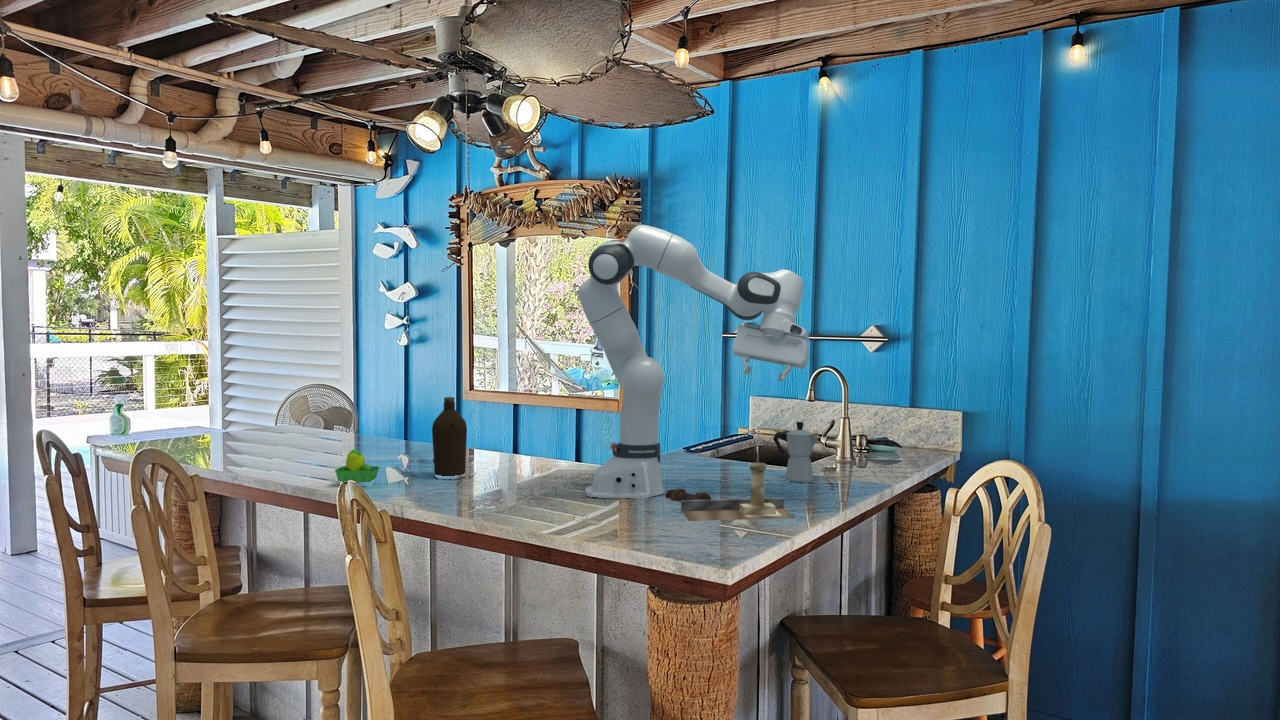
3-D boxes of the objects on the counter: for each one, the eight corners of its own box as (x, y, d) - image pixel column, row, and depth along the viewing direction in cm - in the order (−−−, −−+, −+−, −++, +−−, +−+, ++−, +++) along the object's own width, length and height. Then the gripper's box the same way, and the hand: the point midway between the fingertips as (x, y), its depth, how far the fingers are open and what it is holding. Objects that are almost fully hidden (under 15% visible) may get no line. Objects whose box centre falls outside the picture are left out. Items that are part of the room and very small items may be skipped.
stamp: (743, 515, 202) (744, 465, 201) (739, 511, 206) (739, 462, 205) (775, 514, 203) (776, 464, 202) (770, 510, 207) (771, 462, 206)
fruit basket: (380, 482, 251) (380, 445, 251) (372, 488, 243) (371, 450, 242) (342, 482, 251) (341, 445, 250) (332, 488, 242) (332, 450, 242)
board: (688, 527, 197) (688, 510, 196) (680, 515, 209) (680, 499, 208) (795, 523, 200) (795, 507, 200) (781, 512, 212) (781, 496, 211)
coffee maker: (824, 480, 255) (824, 421, 254) (814, 484, 248) (815, 424, 247) (778, 475, 263) (778, 418, 262) (767, 479, 255) (768, 421, 255)
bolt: (671, 508, 225) (706, 517, 212) (658, 501, 222) (693, 510, 210) (680, 488, 226) (715, 496, 214) (666, 481, 224) (701, 488, 211)
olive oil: (474, 476, 260) (473, 397, 259) (447, 481, 252) (446, 399, 251) (452, 472, 267) (451, 395, 266) (425, 477, 259) (424, 397, 258)
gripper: (737, 317, 224) (723, 365, 221) (812, 331, 216) (799, 380, 213) (741, 326, 230) (728, 372, 226) (814, 339, 222) (802, 387, 219)
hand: (763, 376), depth 220 cm, fingers open, 8 cm apart
